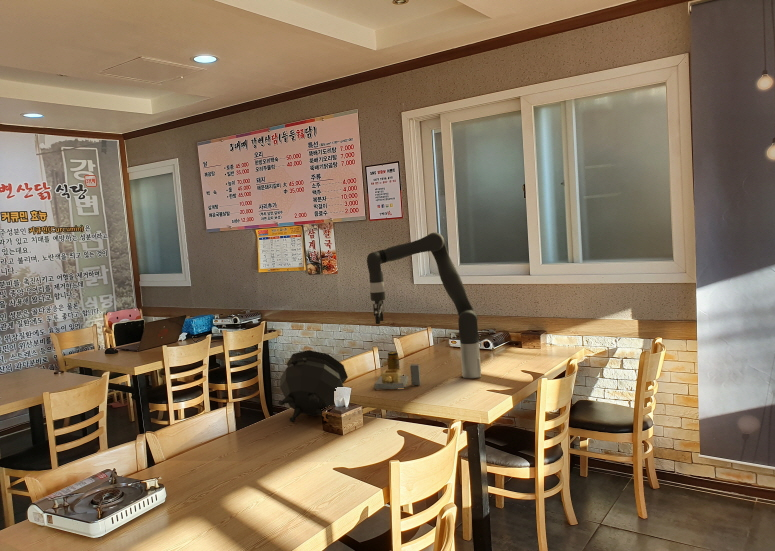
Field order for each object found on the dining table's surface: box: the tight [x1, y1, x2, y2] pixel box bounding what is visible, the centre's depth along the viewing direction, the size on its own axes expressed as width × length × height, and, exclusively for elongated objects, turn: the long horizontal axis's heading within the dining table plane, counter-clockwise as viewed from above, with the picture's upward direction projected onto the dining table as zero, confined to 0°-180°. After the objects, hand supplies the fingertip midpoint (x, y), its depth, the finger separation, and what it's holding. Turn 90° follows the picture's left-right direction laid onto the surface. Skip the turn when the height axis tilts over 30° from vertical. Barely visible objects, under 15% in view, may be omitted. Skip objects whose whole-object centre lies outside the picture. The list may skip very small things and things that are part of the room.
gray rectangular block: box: [409, 363, 422, 386], centre depth 284 cm, size 4×3×10 cm
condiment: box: [387, 351, 406, 375], centre depth 305 cm, size 7×8×12 cm
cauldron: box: [277, 349, 349, 423], centre depth 245 cm, size 28×28×24 cm
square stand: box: [374, 369, 409, 390], centre depth 286 cm, size 14×14×7 cm
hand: (379, 322), depth 299 cm, fingers open, 8 cm apart
